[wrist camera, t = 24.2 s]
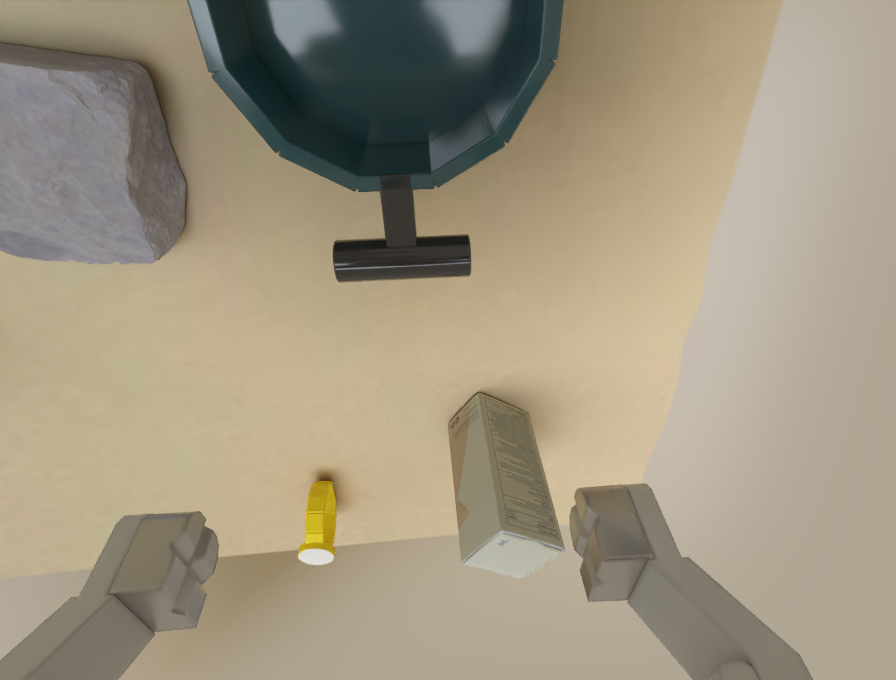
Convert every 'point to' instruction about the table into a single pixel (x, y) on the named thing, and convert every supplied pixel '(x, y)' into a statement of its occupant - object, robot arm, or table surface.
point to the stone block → (84, 160)
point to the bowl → (383, 100)
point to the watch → (319, 525)
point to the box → (501, 490)
